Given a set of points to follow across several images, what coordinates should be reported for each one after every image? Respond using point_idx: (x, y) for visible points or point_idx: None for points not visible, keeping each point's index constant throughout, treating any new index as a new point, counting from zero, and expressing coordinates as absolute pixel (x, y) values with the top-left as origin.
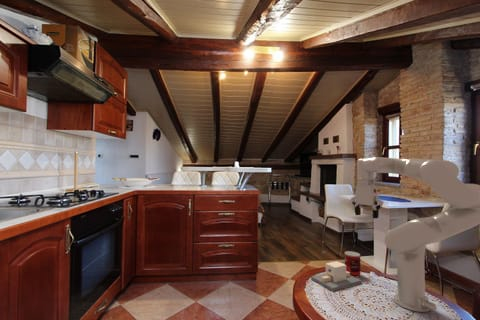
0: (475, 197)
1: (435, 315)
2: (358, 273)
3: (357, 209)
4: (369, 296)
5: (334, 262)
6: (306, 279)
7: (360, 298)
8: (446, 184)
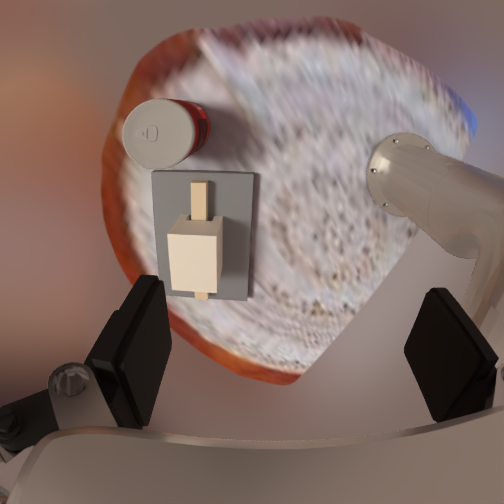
0: None
1: None
2: (208, 130)
3: (148, 395)
4: (320, 233)
5: (175, 253)
6: None
7: (312, 264)
8: None
